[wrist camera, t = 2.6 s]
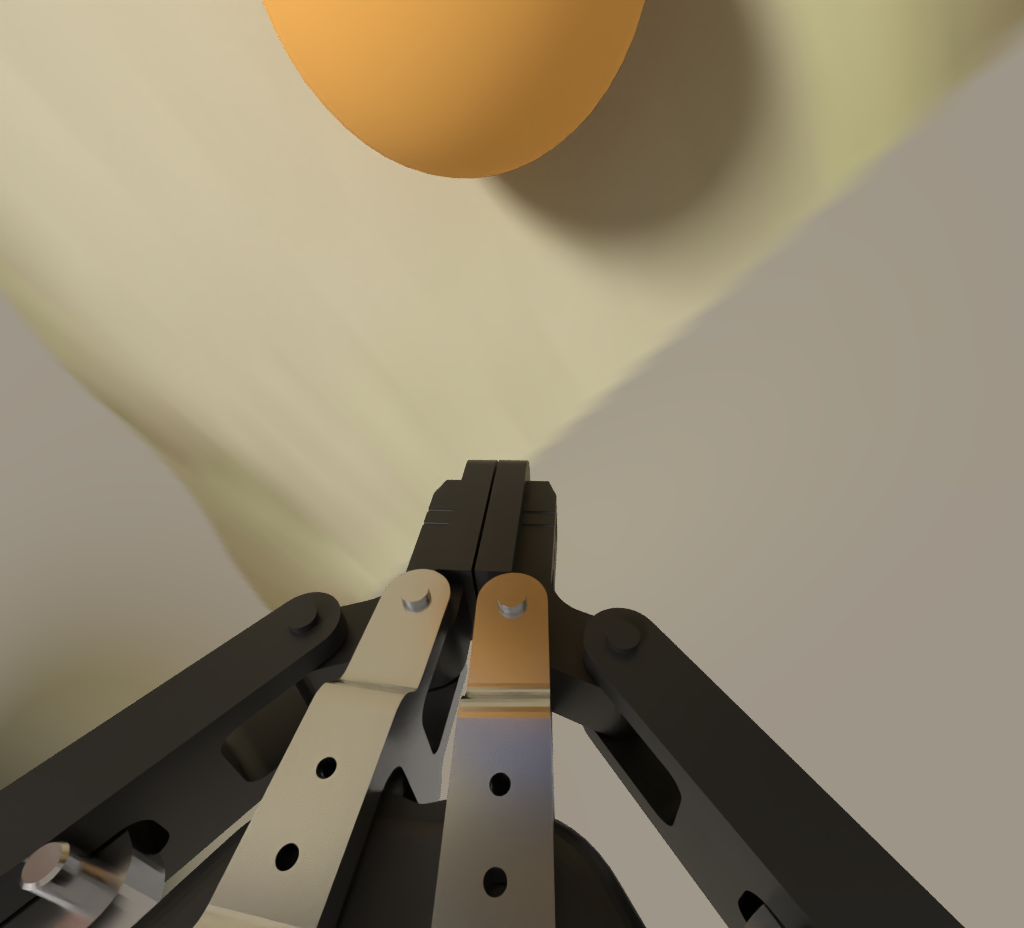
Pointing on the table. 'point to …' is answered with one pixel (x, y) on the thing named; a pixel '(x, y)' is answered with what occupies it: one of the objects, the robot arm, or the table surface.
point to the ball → (458, 73)
